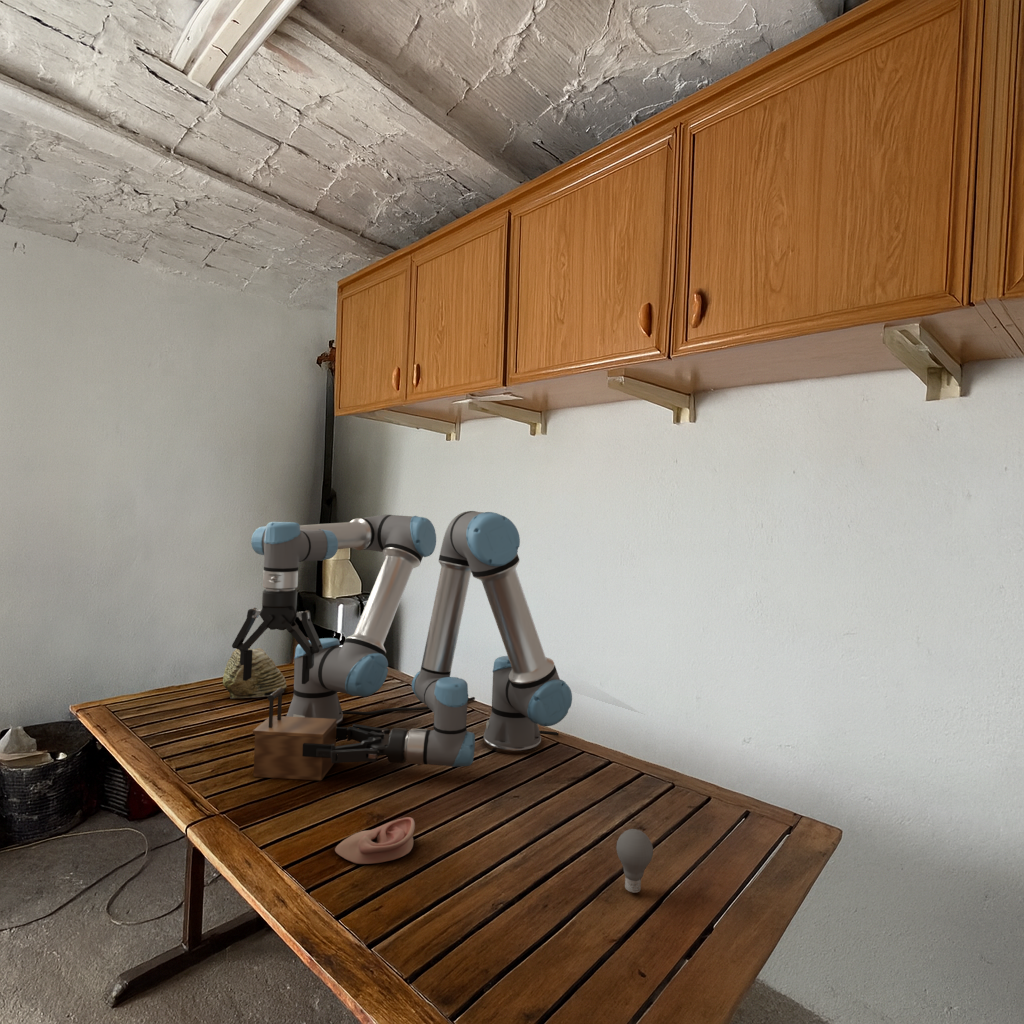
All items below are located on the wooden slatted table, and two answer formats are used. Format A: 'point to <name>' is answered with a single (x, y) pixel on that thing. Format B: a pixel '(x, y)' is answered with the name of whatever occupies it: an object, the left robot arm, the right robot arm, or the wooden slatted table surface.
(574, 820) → the wooden slatted table surface
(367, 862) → the anatomical model
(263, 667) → the fossil
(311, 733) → the lid
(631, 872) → the light bulb
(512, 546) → the right robot arm
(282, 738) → the chest
